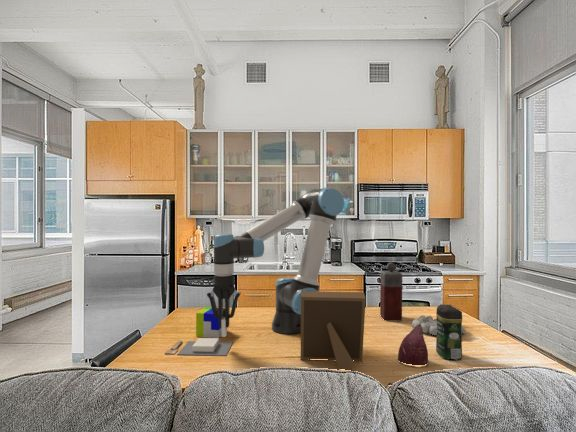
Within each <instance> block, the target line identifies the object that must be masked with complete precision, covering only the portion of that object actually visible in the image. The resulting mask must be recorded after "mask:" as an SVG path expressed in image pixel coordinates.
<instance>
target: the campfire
mask: <svg viewBox="0 0 576 432" xmlns="http://www.w3.org/2000/svg"><path fill="white" fill-rule="evenodd" d="M419 324H421V326H422V330H423V334H428V333H429V335H431V334H432V335H431V336H433V335H434V336H435V335H437V317H436V318H433V316H432V315H428V316H425V315H420V316H419V317H418V318H415V319H413V320H412V322H411V328H412V329H414V328H415V327H416V326H417V325H419ZM461 332H462V333H465V334H466V333H467V330H466V329H465V327H464V326H463V325H462V327H461Z"/></svg>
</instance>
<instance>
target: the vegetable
mask: <svg viewBox="0 0 576 432" xmlns="http://www.w3.org/2000/svg"><path fill="white" fill-rule="evenodd" d="M427 346H428V345H427V344H426V341H425V337H424V332H423V330H422V326H421V324H419V325H417V326H416V327H415V328H412V330H410V332H408V334H406V335H405V336H404V338H403V340H402V341H401V343H400V345H399V349H398V354H397V361H398V360H399V361H400V362H403V363H406V364H412V365H425V364H427V363H428V364H429V351H428V347H427Z"/></svg>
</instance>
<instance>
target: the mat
mask: <svg viewBox="0 0 576 432" xmlns="http://www.w3.org/2000/svg"><path fill="white" fill-rule="evenodd" d="M196 341H197V340H188V341H187V342H186V343H185V344H184V345H183V347H181V349H180V350H179V351H178V352H177V354H176V355H177V356H202V357H203V356H205V357H208V356H210V357H211V356H212V357H214V356H215V357H216V356H217V357H218V356H219V357H226V356H228V353H229V352H230V349H231V347H232V345H233V343H234V342H233V341H219V344H218V346H217V347H216V349H215V351H214V352H193V351H192V346H193V345H194V343H195V342H196Z"/></svg>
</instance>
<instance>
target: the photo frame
mask: <svg viewBox="0 0 576 432" xmlns="http://www.w3.org/2000/svg"><path fill="white" fill-rule="evenodd" d="M366 301H367V300H366V295H365V292H359V291H358V292H357V291H356V292H355V291H353V292H351V291H318V292H315V291H301V332H300V361H311V360H310V359H328V360H336V361H335V362H336V365H337V369H338V368H339V369H345V370H353V368H352V367H353V362H352V361H353V360H354V361H362V362H363V351H364V337H365V336H364V333H365V319H366ZM308 359H309V360H308Z"/></svg>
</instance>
